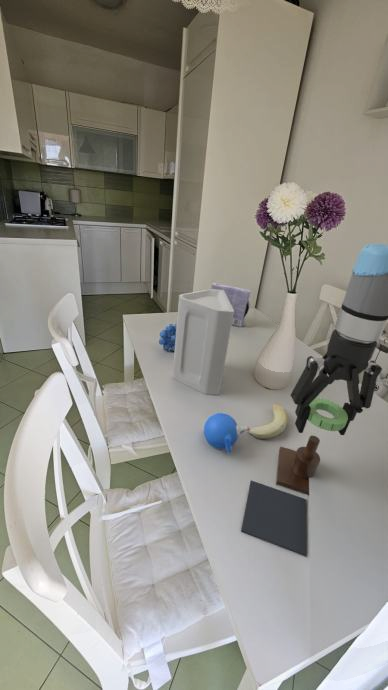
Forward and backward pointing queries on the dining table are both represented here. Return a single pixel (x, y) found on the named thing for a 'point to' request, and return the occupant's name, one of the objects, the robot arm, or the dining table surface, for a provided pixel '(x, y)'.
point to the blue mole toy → (222, 431)
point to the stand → (298, 466)
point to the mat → (276, 517)
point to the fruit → (272, 424)
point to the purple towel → (236, 301)
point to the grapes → (168, 337)
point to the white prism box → (202, 339)
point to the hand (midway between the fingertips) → (319, 429)
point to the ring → (326, 422)
